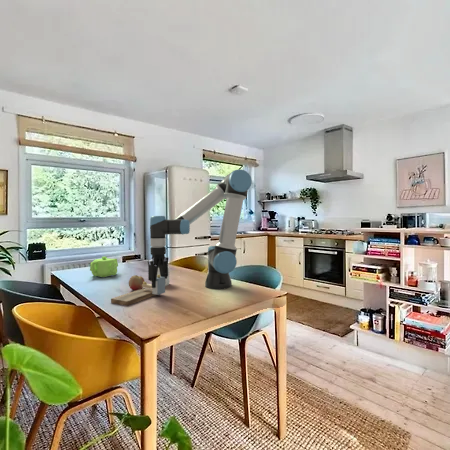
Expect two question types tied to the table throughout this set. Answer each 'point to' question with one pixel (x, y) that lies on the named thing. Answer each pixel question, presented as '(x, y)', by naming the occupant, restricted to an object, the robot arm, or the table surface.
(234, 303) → the table surface
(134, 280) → the fruit
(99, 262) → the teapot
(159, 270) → the mug
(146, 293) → the board
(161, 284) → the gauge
